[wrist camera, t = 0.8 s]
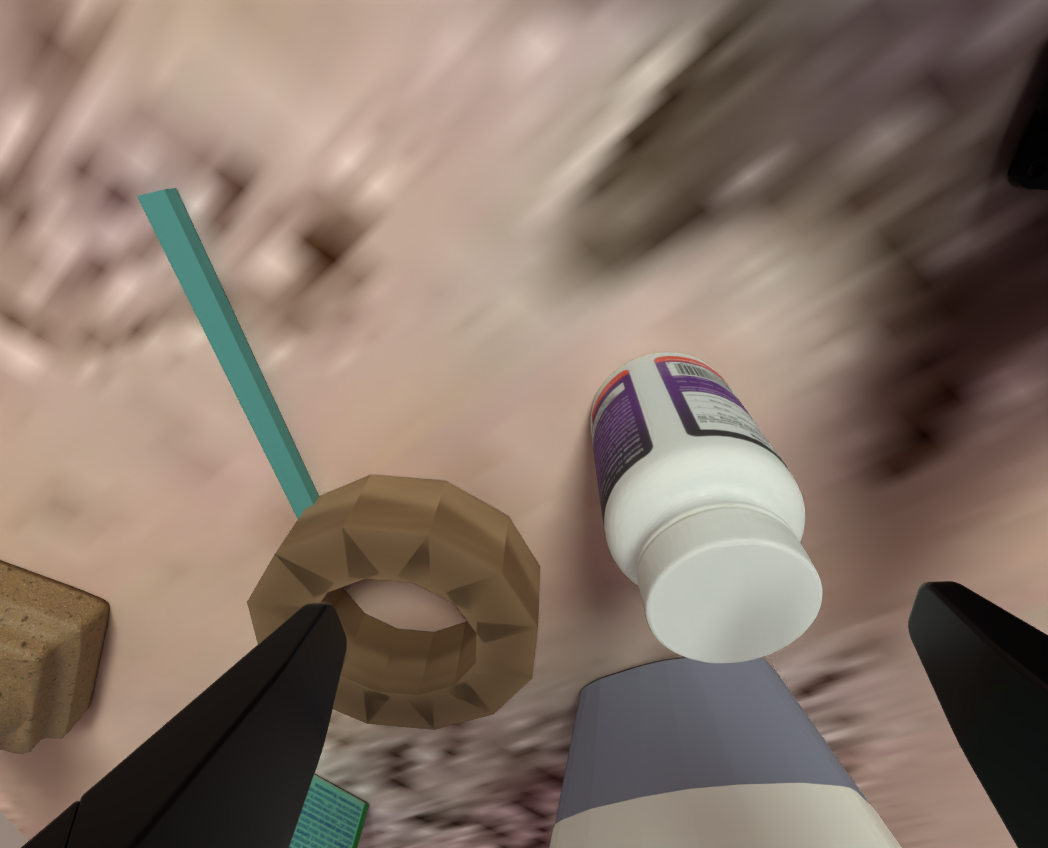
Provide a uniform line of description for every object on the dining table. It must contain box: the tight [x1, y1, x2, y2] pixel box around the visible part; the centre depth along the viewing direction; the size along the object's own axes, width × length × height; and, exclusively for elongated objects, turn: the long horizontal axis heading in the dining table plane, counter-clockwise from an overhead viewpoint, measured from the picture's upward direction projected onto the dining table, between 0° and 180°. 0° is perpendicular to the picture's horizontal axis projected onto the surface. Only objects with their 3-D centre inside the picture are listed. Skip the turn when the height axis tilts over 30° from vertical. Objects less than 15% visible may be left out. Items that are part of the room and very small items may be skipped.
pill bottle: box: [590, 352, 822, 663], centre depth 16 cm, size 5×5×10 cm
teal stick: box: [137, 188, 319, 519], centre depth 21 cm, size 14×1×1 cm, turn 11°
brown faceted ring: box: [247, 475, 540, 730], centre depth 24 cm, size 12×12×4 cm
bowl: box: [549, 658, 901, 848], centre depth 25 cm, size 15×15×11 cm
